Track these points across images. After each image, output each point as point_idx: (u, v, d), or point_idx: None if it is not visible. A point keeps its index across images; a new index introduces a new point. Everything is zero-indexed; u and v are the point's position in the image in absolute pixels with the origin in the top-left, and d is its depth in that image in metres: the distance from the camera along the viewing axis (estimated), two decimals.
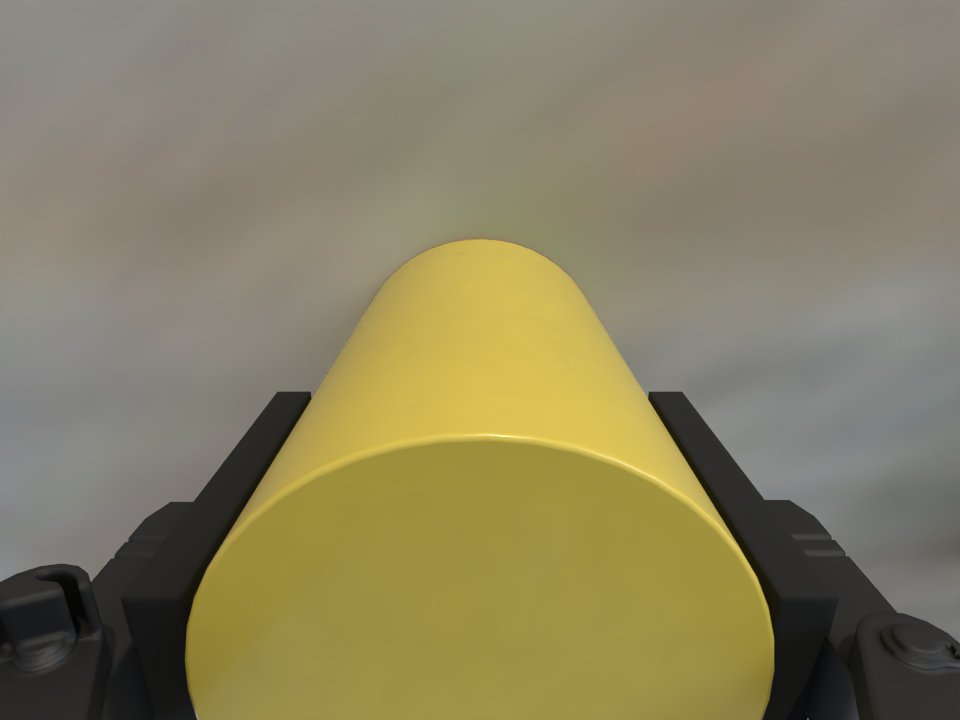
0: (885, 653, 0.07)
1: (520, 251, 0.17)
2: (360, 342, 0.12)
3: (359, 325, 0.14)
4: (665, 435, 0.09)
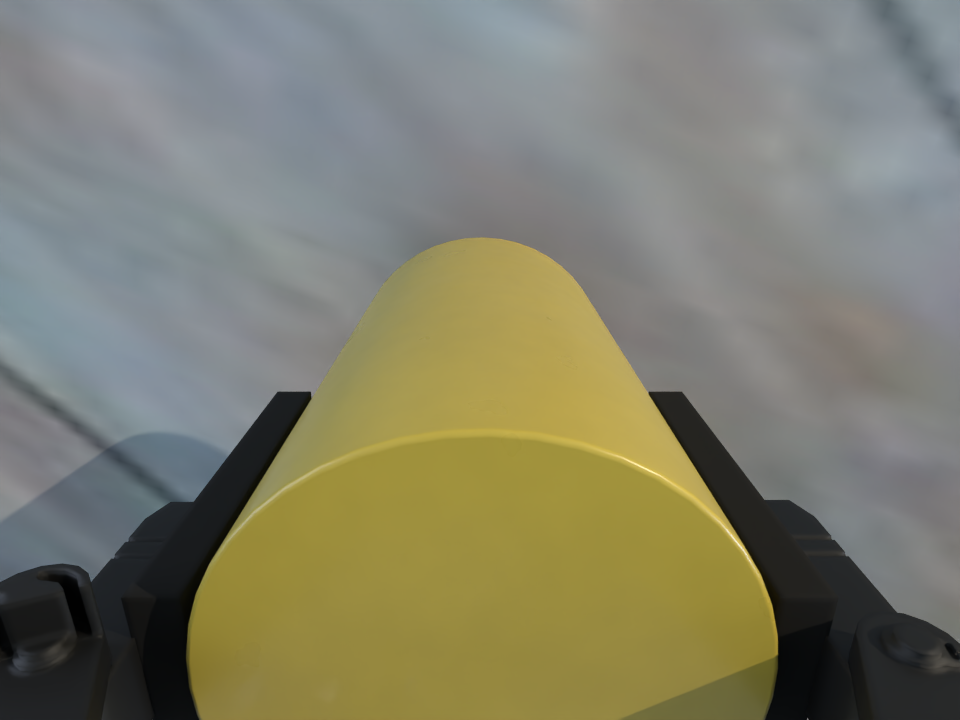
0: (885, 653, 0.07)
1: (521, 249, 0.17)
2: (362, 339, 0.12)
3: (360, 323, 0.14)
4: (668, 432, 0.09)
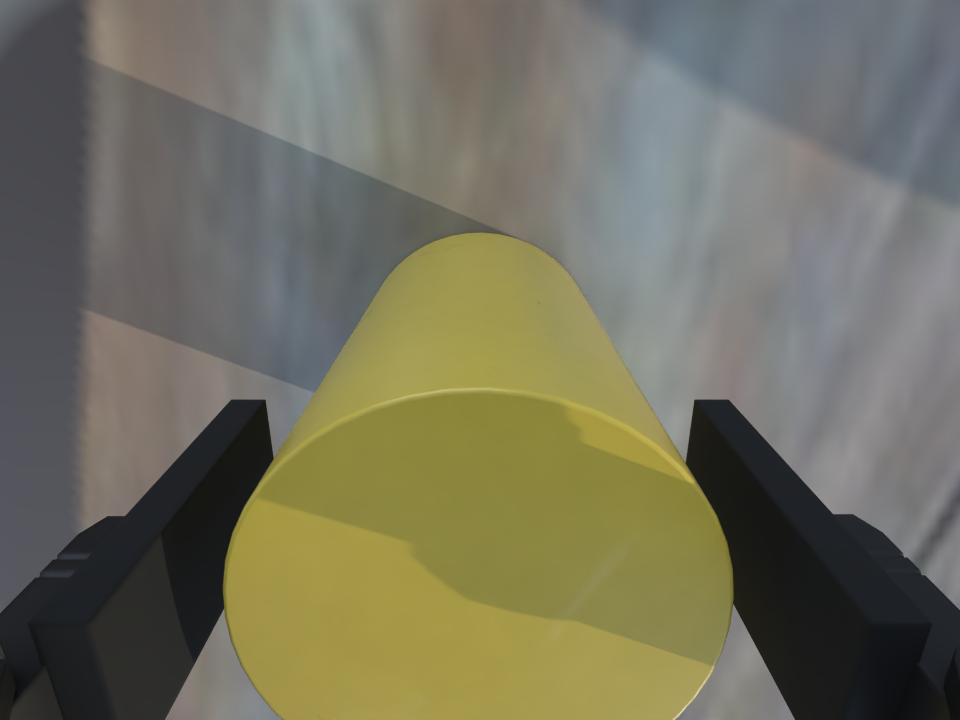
0: None
1: (517, 243, 0.19)
2: (370, 323, 0.13)
3: (367, 310, 0.16)
4: (642, 400, 0.10)
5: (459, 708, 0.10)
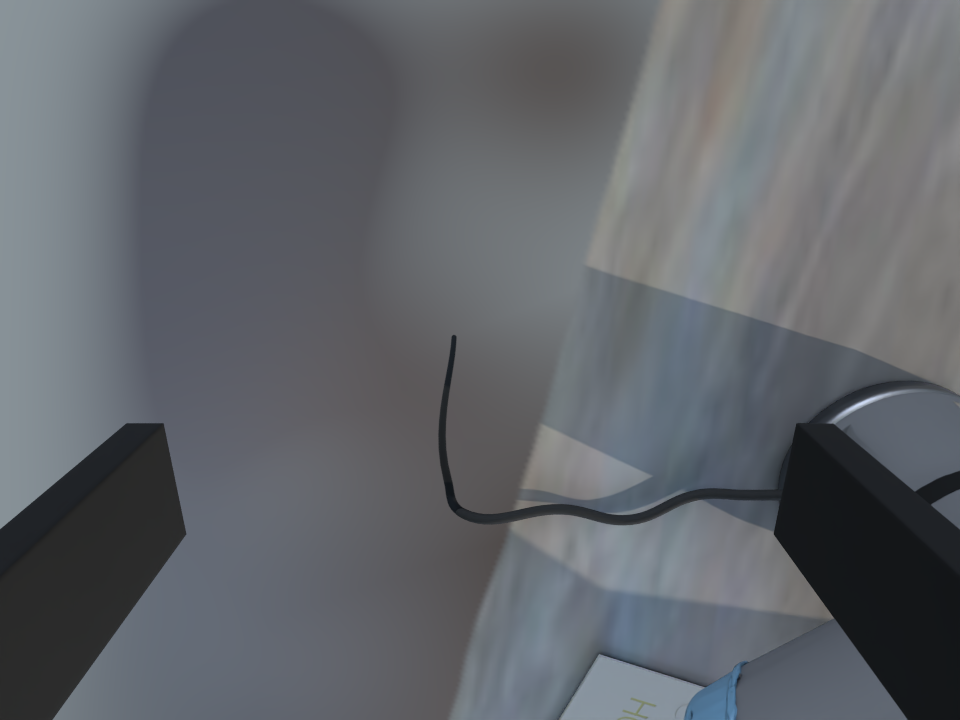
0: None
1: None
2: None
3: None
4: None
5: None
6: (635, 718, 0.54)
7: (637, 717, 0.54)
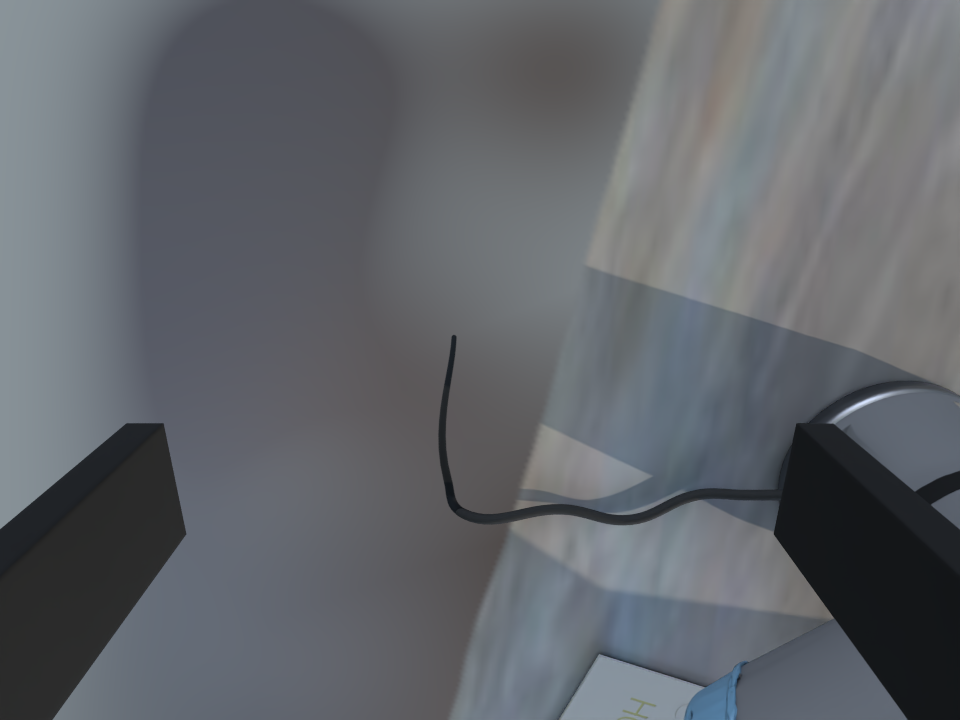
0: None
1: None
2: None
3: None
4: None
5: None
6: (635, 718, 0.54)
7: (637, 717, 0.54)
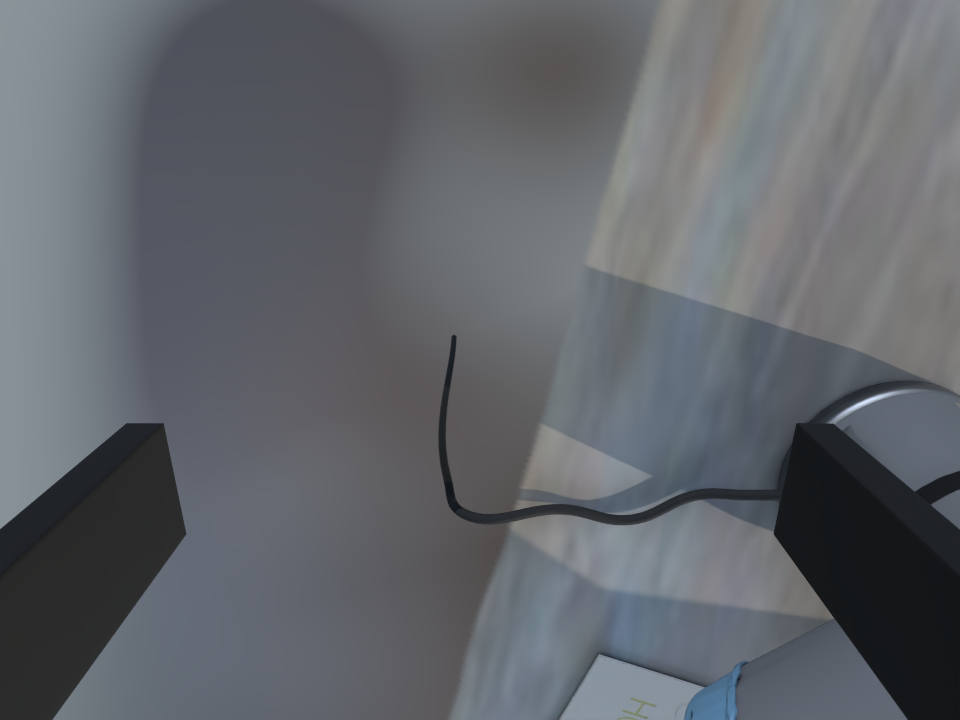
0: None
1: None
2: None
3: None
4: None
5: None
6: (635, 718, 0.54)
7: (637, 717, 0.54)
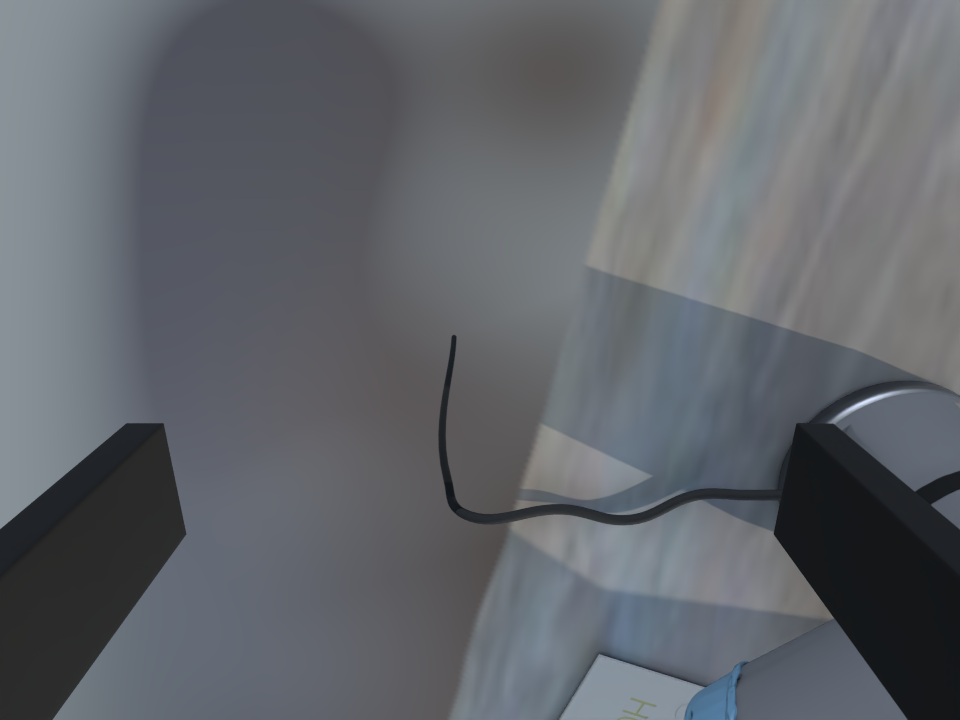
0: None
1: None
2: None
3: None
4: None
5: None
6: (635, 718, 0.54)
7: (637, 717, 0.54)
